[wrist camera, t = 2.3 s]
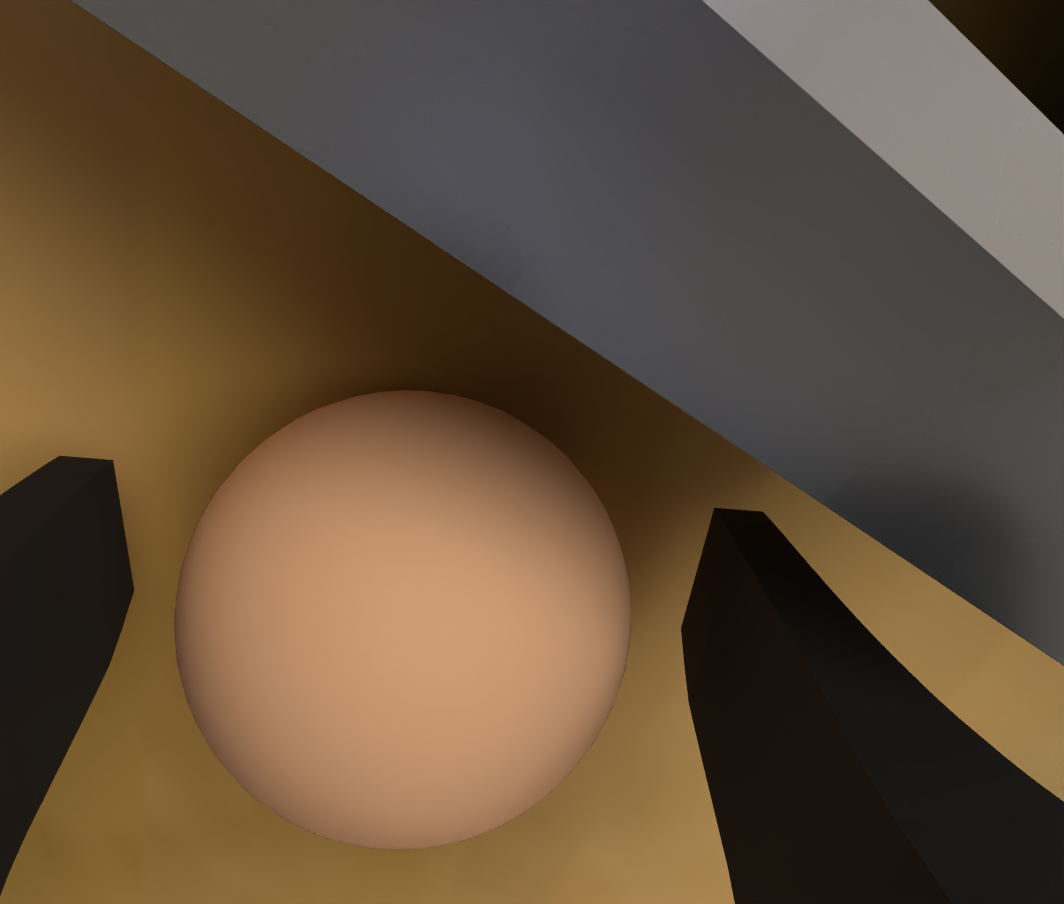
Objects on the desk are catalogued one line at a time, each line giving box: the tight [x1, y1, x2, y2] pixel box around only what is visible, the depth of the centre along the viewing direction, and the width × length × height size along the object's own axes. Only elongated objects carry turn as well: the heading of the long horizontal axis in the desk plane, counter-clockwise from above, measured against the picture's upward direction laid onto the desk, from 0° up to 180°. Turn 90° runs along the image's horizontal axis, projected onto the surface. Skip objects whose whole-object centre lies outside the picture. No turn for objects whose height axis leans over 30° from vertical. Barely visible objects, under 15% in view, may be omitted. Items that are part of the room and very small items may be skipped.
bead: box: [174, 390, 631, 850], centre depth 11 cm, size 5×5×5 cm
